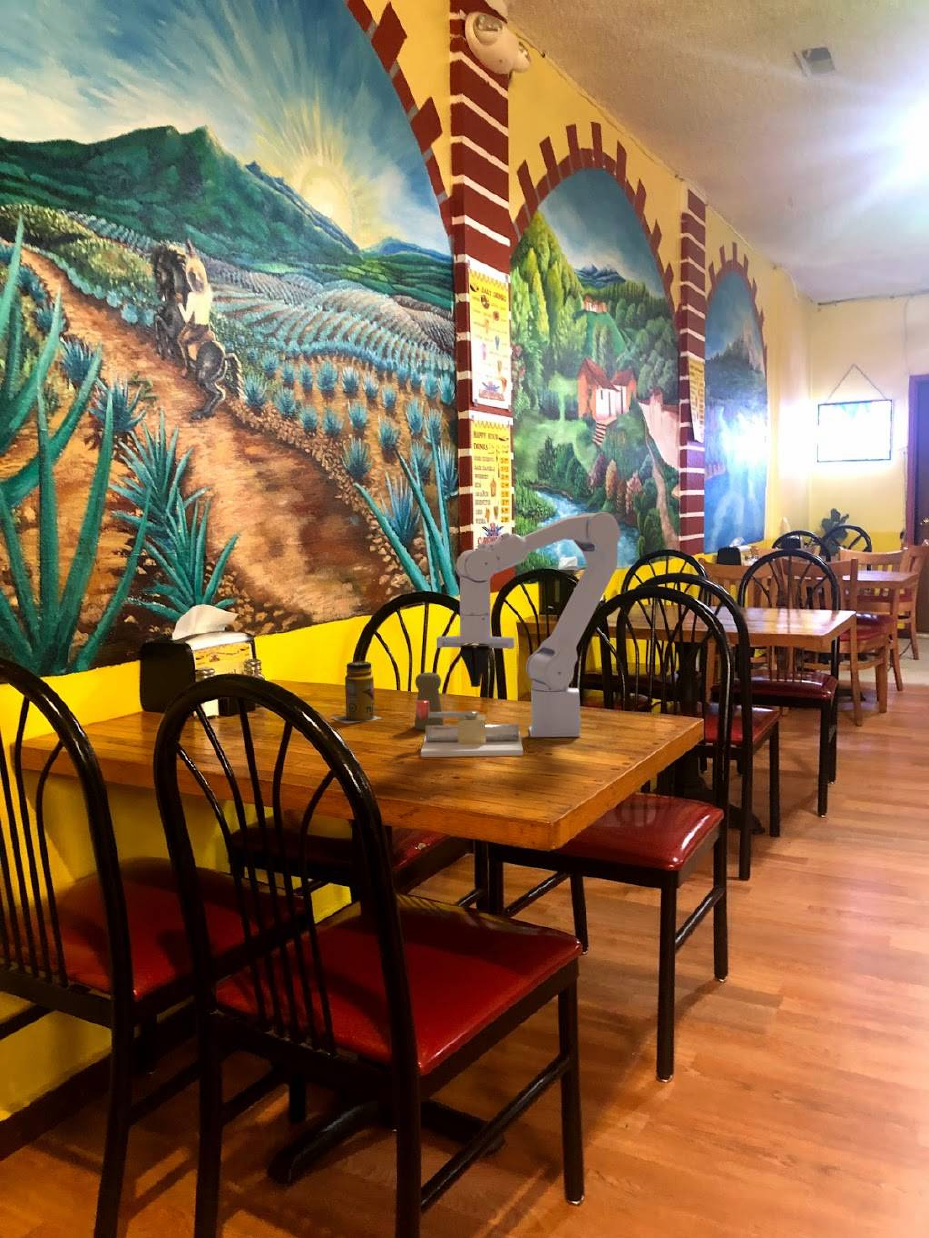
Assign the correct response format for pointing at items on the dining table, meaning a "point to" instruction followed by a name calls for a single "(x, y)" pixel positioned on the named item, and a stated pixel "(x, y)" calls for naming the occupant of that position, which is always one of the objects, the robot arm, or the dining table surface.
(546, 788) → the dining table surface
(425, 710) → the valve lever
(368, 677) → the condiment
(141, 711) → the dining table surface
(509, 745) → the valve board
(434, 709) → the olive tapered post
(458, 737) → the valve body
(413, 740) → the dining table surface
